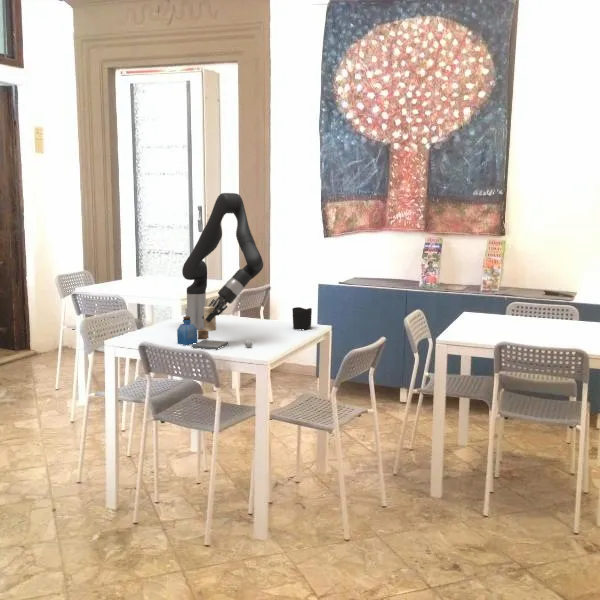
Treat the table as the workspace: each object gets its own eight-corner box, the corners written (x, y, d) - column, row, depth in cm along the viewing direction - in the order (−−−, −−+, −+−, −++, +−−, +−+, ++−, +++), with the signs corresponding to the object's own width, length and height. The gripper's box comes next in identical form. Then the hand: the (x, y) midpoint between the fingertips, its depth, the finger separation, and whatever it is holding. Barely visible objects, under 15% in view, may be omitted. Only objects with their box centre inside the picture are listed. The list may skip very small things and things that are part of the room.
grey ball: (243, 347, 317) (243, 340, 317) (246, 346, 320) (246, 339, 320) (250, 348, 316) (250, 341, 316) (253, 346, 319) (253, 339, 319)
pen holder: (297, 331, 354) (297, 310, 352) (289, 327, 362) (289, 307, 360) (314, 329, 358) (315, 309, 356) (306, 326, 366) (306, 306, 364)
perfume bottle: (188, 341, 331) (187, 315, 329) (197, 343, 327) (196, 316, 325) (177, 343, 326) (176, 317, 324) (186, 345, 322) (185, 318, 320)
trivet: (191, 348, 317) (191, 345, 317) (203, 342, 328) (203, 339, 328) (216, 350, 313) (216, 347, 313) (228, 344, 325) (228, 341, 324)
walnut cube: (198, 339, 335) (197, 330, 335) (199, 337, 339) (199, 329, 339) (206, 339, 335) (206, 331, 334) (208, 337, 339) (208, 329, 338)
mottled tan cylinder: (207, 331, 317) (206, 308, 316) (204, 329, 321) (203, 306, 319) (215, 330, 319) (215, 307, 317) (212, 328, 322) (212, 306, 321)
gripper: (219, 283, 326) (194, 312, 323) (231, 286, 314) (204, 317, 310) (230, 294, 330) (205, 323, 326) (242, 298, 317) (217, 328, 313)
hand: (205, 320), depth 318 cm, fingers closed on mottled tan cylinder, 4 cm apart
